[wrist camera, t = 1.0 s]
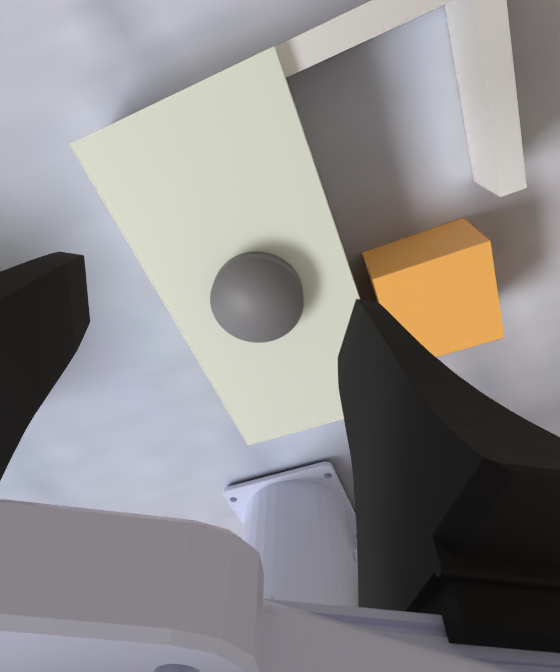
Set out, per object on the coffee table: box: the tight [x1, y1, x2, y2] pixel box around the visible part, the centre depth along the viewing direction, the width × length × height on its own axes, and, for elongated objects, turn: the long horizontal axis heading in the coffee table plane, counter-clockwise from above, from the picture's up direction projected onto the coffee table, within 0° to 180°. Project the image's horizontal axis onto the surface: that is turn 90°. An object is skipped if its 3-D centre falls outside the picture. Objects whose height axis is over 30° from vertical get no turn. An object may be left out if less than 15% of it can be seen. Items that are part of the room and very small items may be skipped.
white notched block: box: [70, 0, 527, 446], centre depth 20 cm, size 16×16×4 cm
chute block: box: [362, 218, 504, 357], centre depth 21 cm, size 5×5×4 cm
